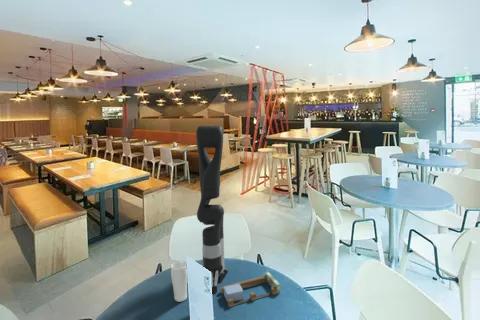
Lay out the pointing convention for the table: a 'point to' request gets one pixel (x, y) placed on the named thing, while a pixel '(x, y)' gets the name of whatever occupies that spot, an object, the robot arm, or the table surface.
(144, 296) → the table surface
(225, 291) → the brick
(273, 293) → the lane
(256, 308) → the table surface
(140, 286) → the table surface
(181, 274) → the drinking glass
